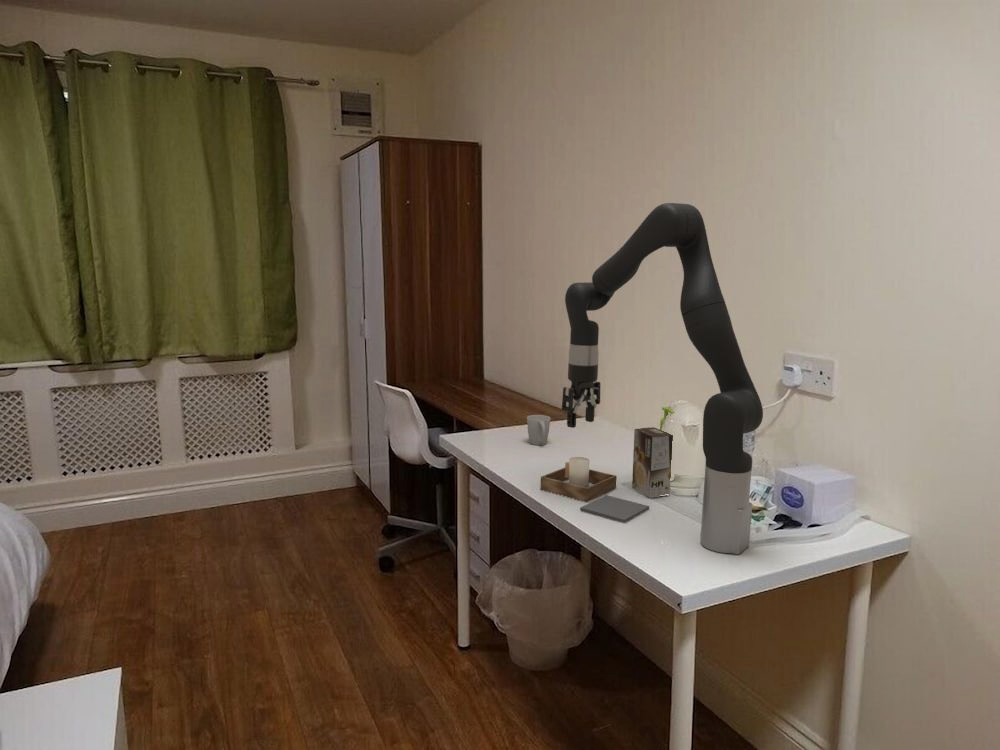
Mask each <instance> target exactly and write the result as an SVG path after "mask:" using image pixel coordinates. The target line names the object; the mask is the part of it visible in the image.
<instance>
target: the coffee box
mask: <svg viewBox="0 0 1000 750" xmlns="http://www.w3.org/2000/svg"><path fill="white" fill-rule="evenodd" d="M633 435H634V436H633V437H634V438H633V452H632V453H633V456H632V461H633V462H632V477H631V478H632V480H631V488H632V489H633V488H634V489H633V490H634V491H638V492H639V493H641V495H644V496H646V497H647V498H649V499H653V498H654V497H655V498H659V497H658V496H660V495H665V494H671V482H670V478H671V460H672V441H673V435H671V434H669V433H667V432H664V431H662V430H660V428H657V427H652V426H651V427H640V428H635V429H634V433H633ZM655 498H654V499H655Z"/></svg>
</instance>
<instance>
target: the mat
mask: <svg viewBox="0 0 1000 750" xmlns="http://www.w3.org/2000/svg"><path fill="white" fill-rule="evenodd" d="M580 510H581V511H580ZM649 510H650V505H648V504H643V503H638V502H635V501H631V500H627V499H623V498H620V497H616V496H612V495H608V494H606V495H605V494H604V495H602V496H600V497H598V498H596V499H594V500H592V501H590V502H589V503H587V504H585V505H583V506H580V508H579V511H580V512H583V511H584V513H587V514H591V515H594V516H598V517H601V518H605V519H609V520H612V521H615V522H619V523H622V524H626V523H627V522H629V521H631V520H633V519H635V518H636V517H638V516H640V515H641V514H644V513H645V512H647V511H649Z"/></svg>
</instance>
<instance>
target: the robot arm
mask: <svg viewBox="0 0 1000 750" xmlns="http://www.w3.org/2000/svg"><path fill="white" fill-rule="evenodd" d="M708 240H709V239H708V235H707V229H706V225H705V221H704V219H703V215H702V213H701V212H700V211H699V210H698V208H697V207H695V205H692V204H688V203H677V202H676V203H675V202H667V203H661V204H659V205H658V206H656V207H654V209H653V210H652V211H651V212H649V214H648V215H647V216H646V217H645V219H643V221H642V222H641V224H639V226H638V227H637V229H635V231H634V232H633V233H632V235H631V236H630V237H629V238H628V239H627V240H626V241H625V243H624V244H623V245H622V246H621V247H620V248H619V249H618V250H617V251H616V252H615V253H613V255H612V256H610V258H608V259H607V260H606V261H605V262H603V263H602V264H600V265H599V267H598V268H596V269H595V270H594V271H593V274H592V277H591V282H573V283H572V284H570V285H569V286H568V288H567V290H566V291H565V296H564V302H565V303H564V304H565V308H566V313H567V318H568V322H569V326H570V333H569V334H570V335H569V336H570V337H569V338H570V341H569V349H568V362H567V363H568V366H567V367H568V368H567V379H568V381H570V383H571V385H570V387H566V386H564V387H563V389H562V399H561V400H562V403H561V411H562V412H566V414H567V415H566V426H567V428H572V429H574V428H576V426H577V411H578V409H579V407H580V406H582V403H585V406H586V407H585V417H584V418H585V422H589V423H592V422H594V421H595V408H596V407H597V405H600V403H601V381H598V378H599V377H598V373H599V356H600V354H599V335H600V332H599V330H600V329H599V323H597V322H596V321H594V320H590V319H589V316H588V313H587V312H589V311H592V312H594V311H598V310H601V309H602V308H604V307H605V306H606V305H607V304H608V303H609V302H610V300H611V299H612V297H613V296H614V294H615V293H616V292H617V291H618V290H620V289H621V288H622V287H623V286H624V285H626V284H627V283H628V282H629V281H631V280H632V279H633V277H634V276H635V275H636V274H637V272H638V270H639V268H640V266H641V264H642V262H643V261H644V260H645V259H646V258H647V257H648V256H649V255H651V254H653V253H654V252H656V251H658V250H660V249H662V248H663V247H667V248H675V249H676V250H677V253H678V255H679V258H680V261H681V262H680V263H681V265H682V271H683V281H682V282H683V283H682V287H681V291H680V292H681V293H680V301H679V306H680V314H681V317H682V321H683V324H684V327H685V330H686V331H685V332H686V334H687V336H688V338H689V340H690V342H691V344H693V346H694V347H695V350H696V351H698V353H699V354H700V356H702V358H703V360H704V361H706V363H707V364H708V365H709V367H710V368H711V370H712V372H713V374H714V377H715V379H716V381H717V383H718V385H717V386H718V388H719V391H720V392H719V393H716V394H714V395H712V396H711V397H710V398H709V399H708V400H707V402H706V404H705V406H704V411H703V417H702V418H703V419H702V451H703V455H704V457H705V466H704V467H705V468H704V483H703V493H702V495H703V496H702V497H703V498H702V508H701V509H702V511H701V512H702V513H701V522H700V523H701V526H700V539H699V540H700V541H699V542H700V544H701V546H702V547H704V548H706V549H707V550H711V551H713V552H717V553H723V554H733V555H740V554H742V552H743V551H745V550H746V549H748V547H750V538H751V524H752V513H753V512H752V511H753V504H752V503H751V502H750V496H751V495H750V494H751V483H752V471H753V470H752V467H753V457H752V455H751V454H750V453H748V452H746V451H744V435H745V434H749V433H751V432H752V433H753V432H754V431H755V430H757V429H758V428H759V427H760V426H761V424H762V421H763V418H764V409H763V403H762V401H761V399H760V396H759V394H758V391H757V388H756V387H755V384H754V382H753V380H752V378H751V375H750V373H749V371H748V368H747V367H746V364H745V361H744V358H743V355H742V352H741V348H740V345H739V343H738V339H737V337H736V333H735V331H734V328H733V327H734V326H733V323H732V319H731V316H730V314H729V310H728V307H727V304H726V301H725V298H724V296H723V292H722V289H721V287H720V284H719V279H718V276H717V272H716V270H715V266H714V263H713V259H712V255H711V250H710V245H709V241H708Z"/></svg>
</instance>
